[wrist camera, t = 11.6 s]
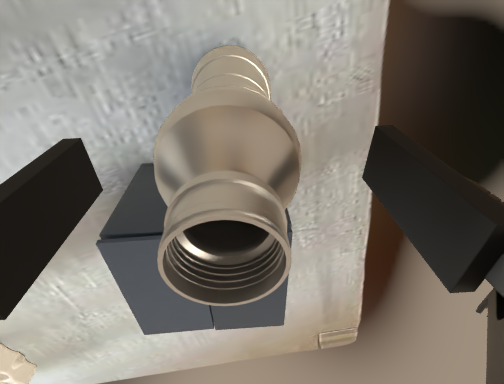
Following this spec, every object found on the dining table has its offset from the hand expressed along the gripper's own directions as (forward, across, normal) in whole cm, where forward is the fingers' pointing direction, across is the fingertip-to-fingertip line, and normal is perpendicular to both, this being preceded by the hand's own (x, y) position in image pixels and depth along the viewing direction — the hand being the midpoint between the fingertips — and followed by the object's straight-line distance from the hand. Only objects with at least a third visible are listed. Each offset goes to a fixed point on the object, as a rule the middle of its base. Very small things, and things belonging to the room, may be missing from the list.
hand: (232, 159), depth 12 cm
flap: (+3, -7, -14) cm, 16 cm away
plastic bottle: (+14, 0, 0) cm, 14 cm away
